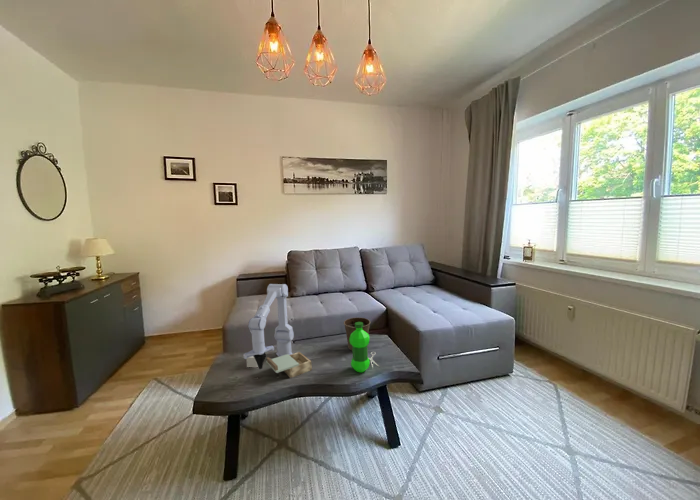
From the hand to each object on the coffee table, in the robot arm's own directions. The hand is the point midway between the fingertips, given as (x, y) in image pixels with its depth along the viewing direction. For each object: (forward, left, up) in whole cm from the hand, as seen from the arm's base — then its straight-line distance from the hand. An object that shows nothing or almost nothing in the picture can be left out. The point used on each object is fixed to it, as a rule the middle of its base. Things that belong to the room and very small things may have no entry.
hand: (260, 368), depth 142 cm
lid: (0, +12, -2) cm, 12 cm away
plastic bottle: (+23, +44, -7) cm, 51 cm away
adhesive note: (-18, +2, -7) cm, 19 cm away
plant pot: (+1, +59, -7) cm, 60 cm away
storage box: (0, +18, -7) cm, 20 cm away
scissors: (+18, +55, -7) cm, 59 cm away
